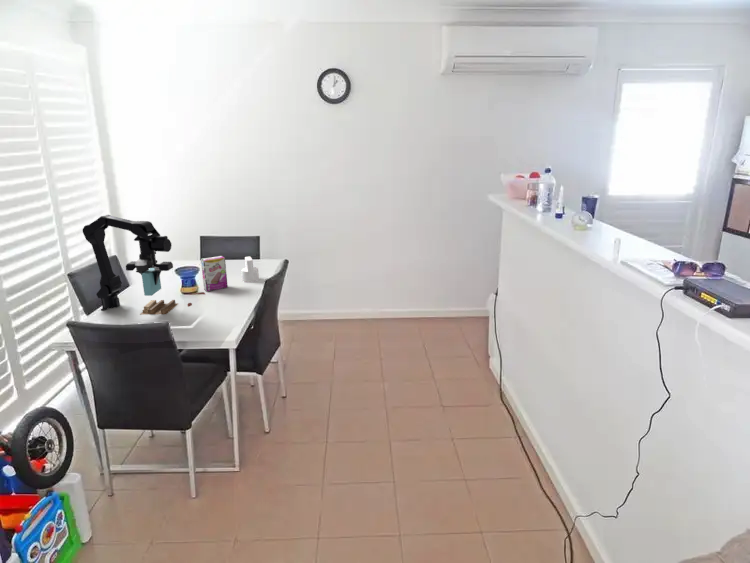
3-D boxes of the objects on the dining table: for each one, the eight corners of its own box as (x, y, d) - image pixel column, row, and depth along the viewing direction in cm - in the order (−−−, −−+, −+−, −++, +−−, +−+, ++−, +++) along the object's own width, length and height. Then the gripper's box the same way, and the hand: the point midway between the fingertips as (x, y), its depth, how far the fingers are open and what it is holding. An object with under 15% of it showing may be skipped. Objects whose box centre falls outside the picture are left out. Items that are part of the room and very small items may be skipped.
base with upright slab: (260, 281, 270) (258, 259, 266) (243, 283, 266) (241, 261, 263) (257, 276, 278) (255, 255, 274) (241, 278, 274) (238, 257, 271)
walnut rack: (139, 316, 221) (138, 310, 220) (153, 305, 235) (152, 299, 234) (166, 316, 221) (165, 309, 220) (179, 305, 234) (178, 299, 233)
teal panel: (144, 295, 220) (141, 273, 217) (154, 288, 230) (151, 267, 227) (151, 295, 220) (148, 273, 217) (161, 288, 230) (158, 267, 227)
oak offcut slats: (142, 312, 223) (141, 307, 222) (152, 305, 232) (151, 300, 232) (148, 312, 223) (147, 307, 222) (158, 305, 232) (157, 299, 232)
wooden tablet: (208, 310, 230) (208, 306, 229) (185, 312, 227) (185, 309, 226) (207, 292, 254) (206, 289, 253) (186, 295, 251) (185, 291, 250)
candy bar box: (207, 292, 253) (203, 260, 248) (203, 289, 257) (200, 258, 252) (228, 287, 259) (225, 257, 254) (225, 285, 263) (221, 255, 258)
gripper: (117, 255, 212) (122, 290, 217) (160, 255, 212) (165, 290, 216) (129, 248, 222) (134, 282, 227) (171, 249, 222) (175, 282, 227)
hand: (152, 284), depth 224 cm, fingers closed on teal panel, 3 cm apart
